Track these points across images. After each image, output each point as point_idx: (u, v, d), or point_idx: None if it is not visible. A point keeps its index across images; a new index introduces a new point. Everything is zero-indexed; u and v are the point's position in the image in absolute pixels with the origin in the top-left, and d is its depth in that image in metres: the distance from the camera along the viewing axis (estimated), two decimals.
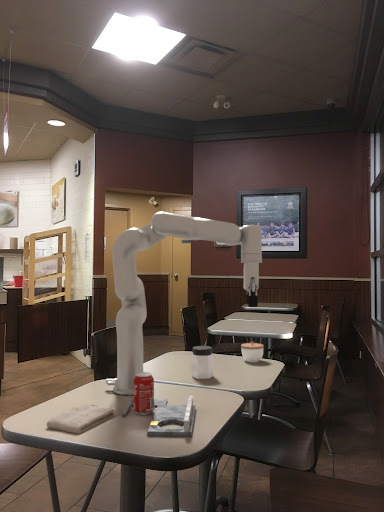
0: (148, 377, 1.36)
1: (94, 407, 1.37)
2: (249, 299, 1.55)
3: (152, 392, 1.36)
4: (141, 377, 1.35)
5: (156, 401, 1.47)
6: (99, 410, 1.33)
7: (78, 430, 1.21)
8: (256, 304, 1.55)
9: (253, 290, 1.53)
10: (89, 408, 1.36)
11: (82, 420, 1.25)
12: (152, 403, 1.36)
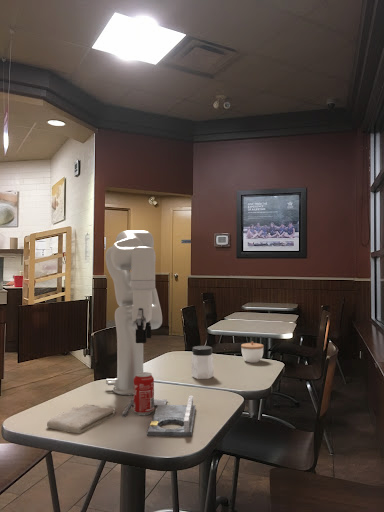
0: (148, 377, 1.36)
1: (94, 407, 1.37)
2: (136, 334, 1.33)
3: (152, 392, 1.36)
4: (141, 377, 1.35)
5: (156, 401, 1.47)
6: (99, 410, 1.33)
7: (78, 430, 1.21)
8: (144, 340, 1.33)
9: (139, 324, 1.30)
10: (89, 408, 1.36)
11: (82, 420, 1.25)
12: (152, 403, 1.36)
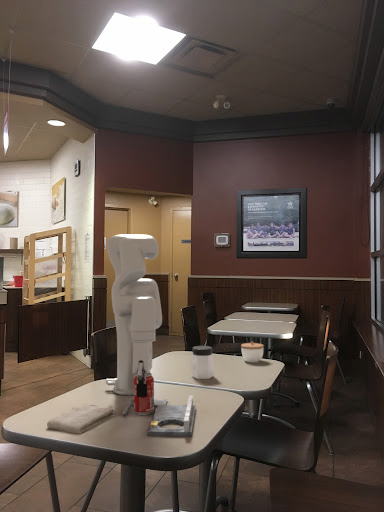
0: (148, 377, 1.36)
1: (94, 407, 1.37)
2: (137, 388, 1.34)
3: (152, 392, 1.36)
4: None
5: (156, 401, 1.47)
6: (99, 410, 1.34)
7: (79, 430, 1.21)
8: (145, 394, 1.34)
9: (140, 379, 1.32)
10: (89, 408, 1.36)
11: (82, 420, 1.25)
12: (152, 403, 1.36)
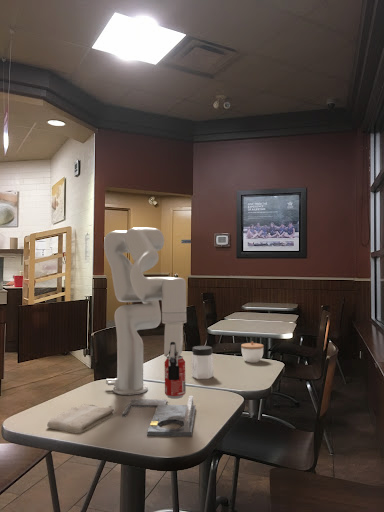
0: (180, 360, 1.32)
1: (93, 407, 1.37)
2: (169, 370, 1.30)
3: (184, 375, 1.33)
4: None
5: (156, 401, 1.47)
6: (99, 410, 1.34)
7: (80, 430, 1.21)
8: (177, 376, 1.30)
9: (172, 361, 1.28)
10: (88, 407, 1.36)
11: (83, 419, 1.25)
12: (184, 386, 1.33)
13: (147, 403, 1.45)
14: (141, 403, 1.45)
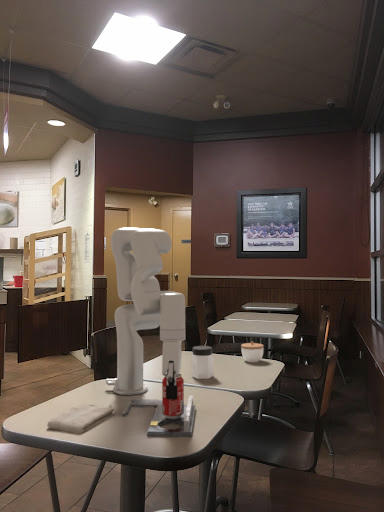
0: (178, 378, 1.28)
1: (93, 407, 1.37)
2: (167, 390, 1.26)
3: (182, 394, 1.28)
4: None
5: (156, 401, 1.47)
6: (99, 410, 1.34)
7: (80, 429, 1.21)
8: (175, 396, 1.26)
9: (170, 381, 1.23)
10: (88, 407, 1.36)
11: (83, 419, 1.25)
12: (182, 406, 1.28)
13: (147, 403, 1.45)
14: (141, 403, 1.45)
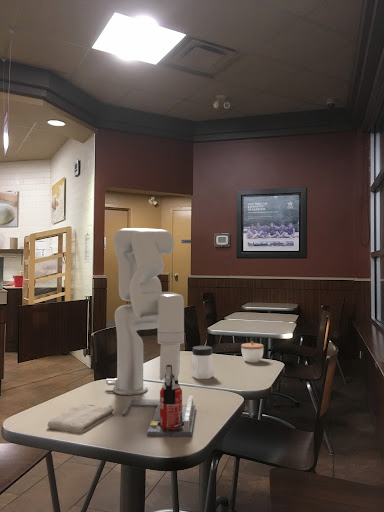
0: (176, 389, 1.23)
1: (93, 407, 1.37)
2: (164, 394, 1.19)
3: (181, 406, 1.23)
4: None
5: (156, 401, 1.47)
6: (98, 409, 1.34)
7: (81, 429, 1.21)
8: (173, 401, 1.19)
9: (168, 384, 1.17)
10: (88, 407, 1.36)
11: (83, 419, 1.25)
12: (181, 418, 1.23)
13: (147, 403, 1.45)
14: (141, 403, 1.45)
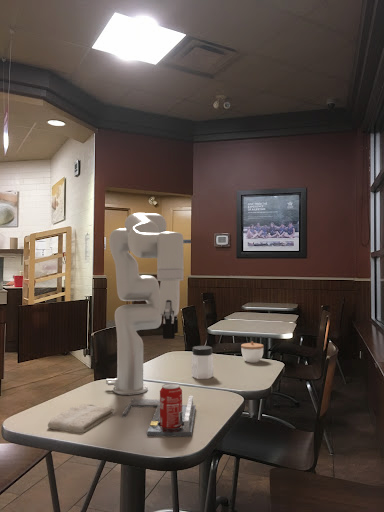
0: (176, 389, 1.23)
1: (92, 407, 1.37)
2: (164, 328, 1.20)
3: (180, 406, 1.23)
4: (169, 389, 1.22)
5: (156, 401, 1.47)
6: (98, 409, 1.34)
7: (82, 429, 1.21)
8: (173, 335, 1.20)
9: (167, 317, 1.17)
10: (88, 407, 1.36)
11: (84, 419, 1.25)
12: (180, 418, 1.23)
13: (147, 403, 1.45)
14: (141, 403, 1.45)
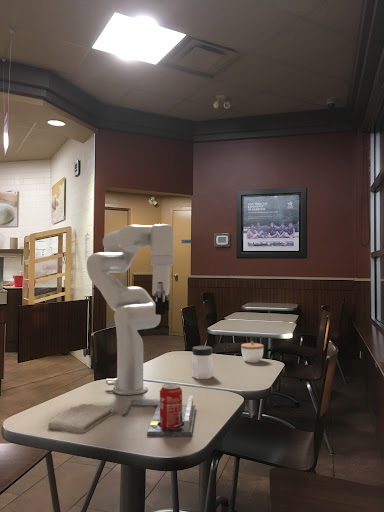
0: (176, 389, 1.23)
1: (92, 406, 1.37)
2: (156, 306, 1.41)
3: (180, 406, 1.23)
4: (169, 389, 1.22)
5: (156, 401, 1.47)
6: (98, 409, 1.34)
7: (82, 429, 1.21)
8: (164, 311, 1.41)
9: (159, 296, 1.38)
10: (87, 407, 1.36)
11: (84, 419, 1.25)
12: (180, 418, 1.23)
13: (147, 403, 1.45)
14: (141, 403, 1.45)
